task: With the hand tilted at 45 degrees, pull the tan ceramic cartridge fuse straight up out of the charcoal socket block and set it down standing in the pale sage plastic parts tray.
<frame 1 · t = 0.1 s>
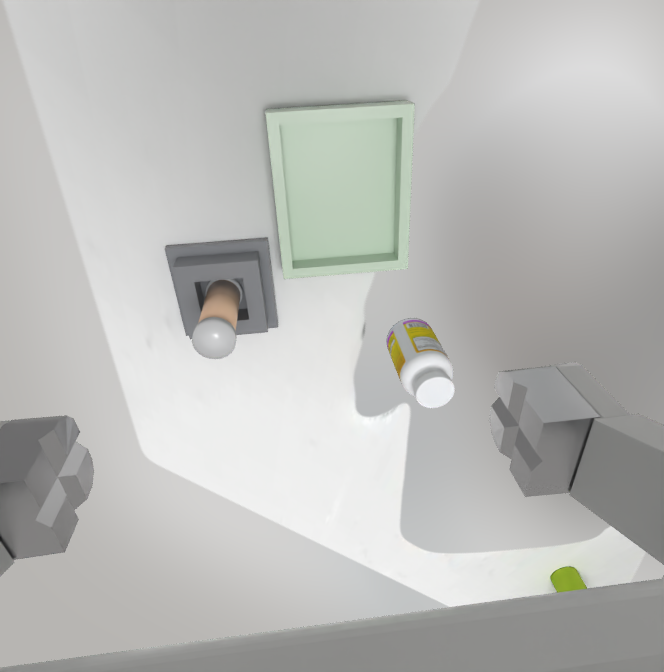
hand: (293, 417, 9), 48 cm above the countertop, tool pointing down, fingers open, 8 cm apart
fuse: (224, 290, 59), point 1 cm above the countertop, touching socket block
supplement bottle: (408, 335, 66), on the countertop
soap dispenser: (561, 575, 103), on the countertop
parts tray: (340, 190, 55), on the countertop
socket block: (225, 286, 59), on the countertop
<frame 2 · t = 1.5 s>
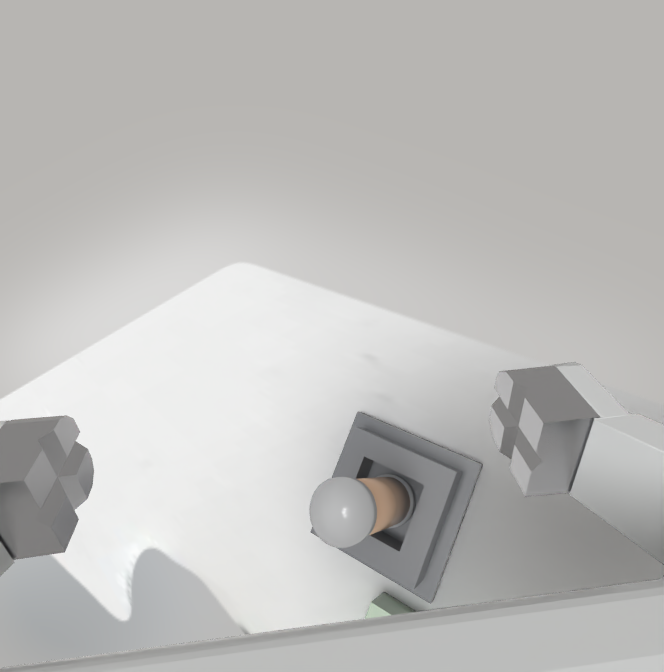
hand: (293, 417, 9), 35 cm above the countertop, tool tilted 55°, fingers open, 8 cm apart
fuse: (391, 499, 42), point 1 cm above the countertop, touching socket block
socket block: (394, 499, 43), on the countertop
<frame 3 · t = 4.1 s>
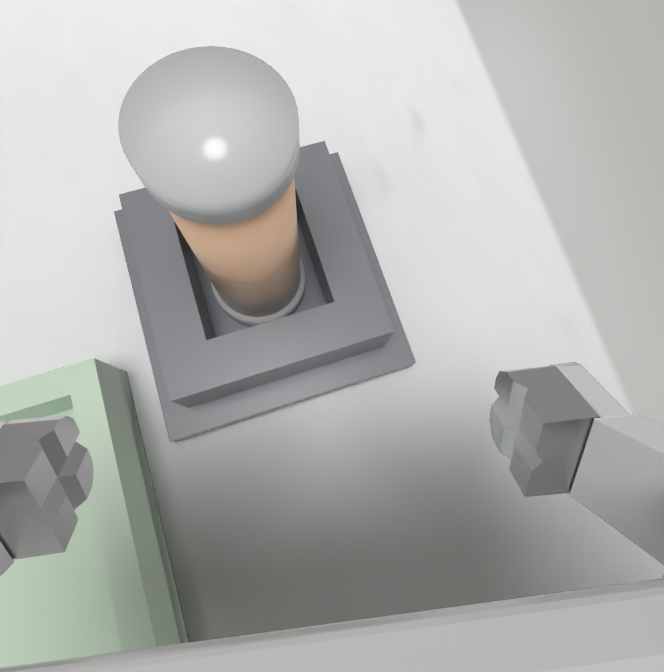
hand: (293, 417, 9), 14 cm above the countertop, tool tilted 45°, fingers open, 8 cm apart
fuse: (260, 284, 23), point 1 cm above the countertop, touching socket block
socket block: (262, 291, 24), on the countertop
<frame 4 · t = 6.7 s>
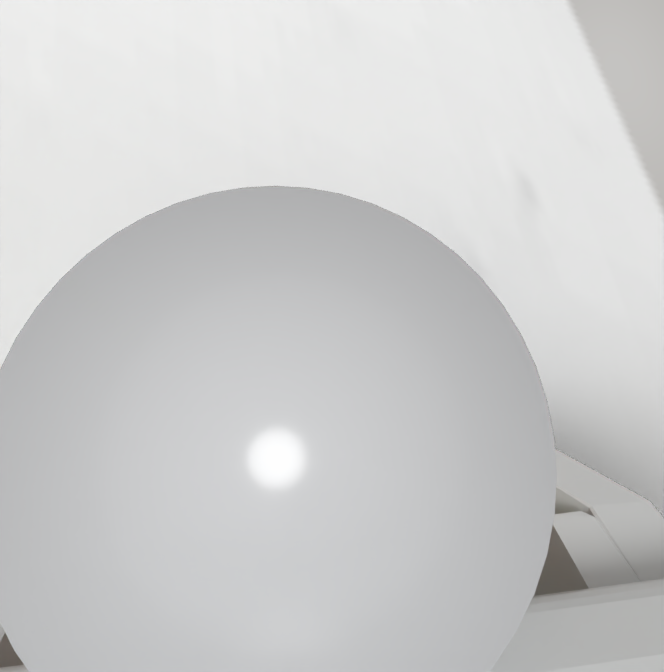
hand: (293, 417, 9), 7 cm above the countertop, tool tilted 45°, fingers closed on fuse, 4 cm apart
fuse: (303, 449, 15), point 1 cm above the countertop, touching gripper, socket block
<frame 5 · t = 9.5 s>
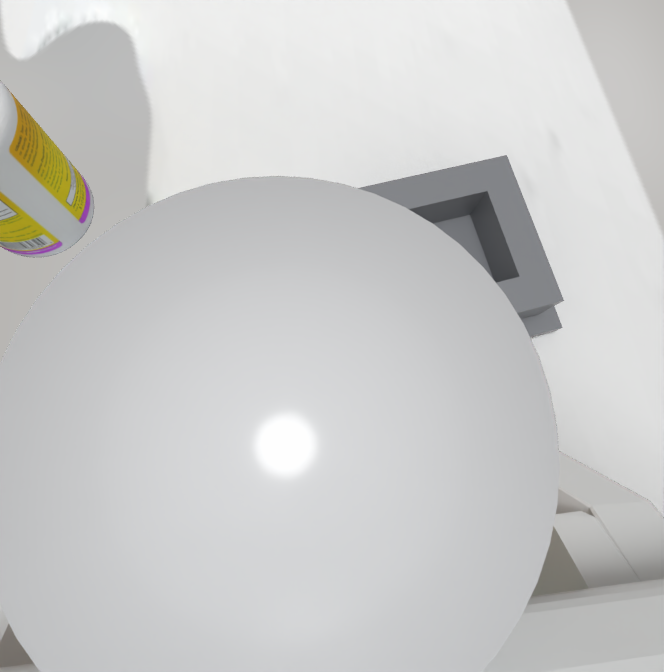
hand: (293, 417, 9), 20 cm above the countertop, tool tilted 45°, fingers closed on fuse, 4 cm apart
fuse: (303, 446, 15), point 13 cm above the countertop, touching gripper
supplement bottle: (46, 215, 31), on the countertop
socket block: (439, 268, 31), on the countertop
when the fingers open (9 cm above the countertop, at t = 12.3 s): fuse drops 2 cm, resting on parts tray.
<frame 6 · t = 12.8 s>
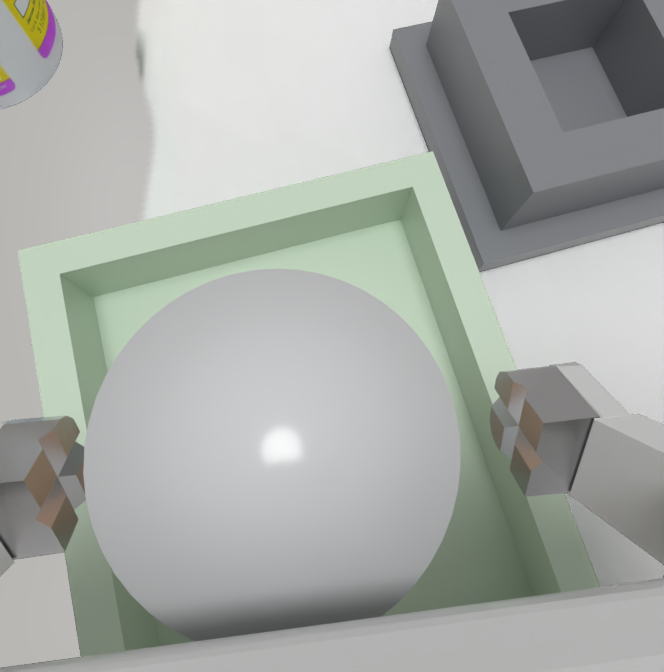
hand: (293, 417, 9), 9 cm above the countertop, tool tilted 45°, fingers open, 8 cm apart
fuse: (299, 448, 17), point 1 cm above the countertop, touching parts tray
parts tray: (304, 448, 18), on the countertop
socket block: (550, 124, 22), on the countertop
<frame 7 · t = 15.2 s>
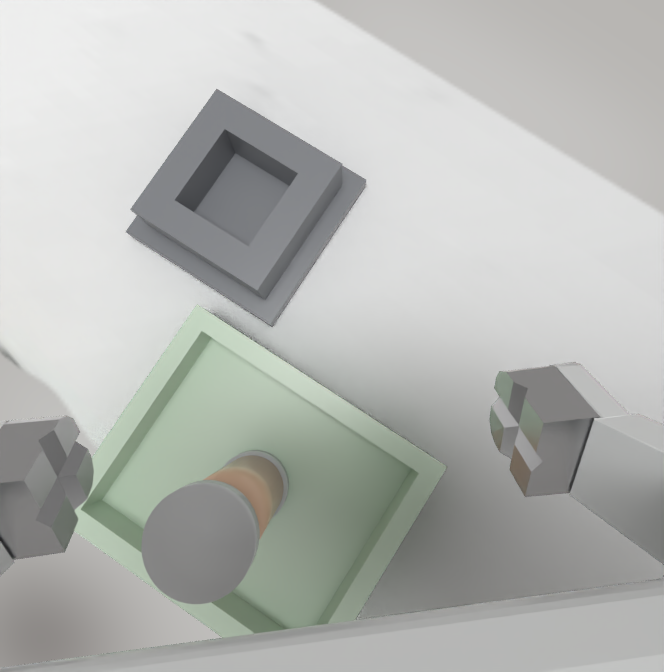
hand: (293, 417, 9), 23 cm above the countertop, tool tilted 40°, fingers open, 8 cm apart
fuse: (254, 484, 30), point 1 cm above the countertop, touching parts tray
parts tray: (259, 480, 31), on the countertop
socket block: (248, 211, 33), on the countertop
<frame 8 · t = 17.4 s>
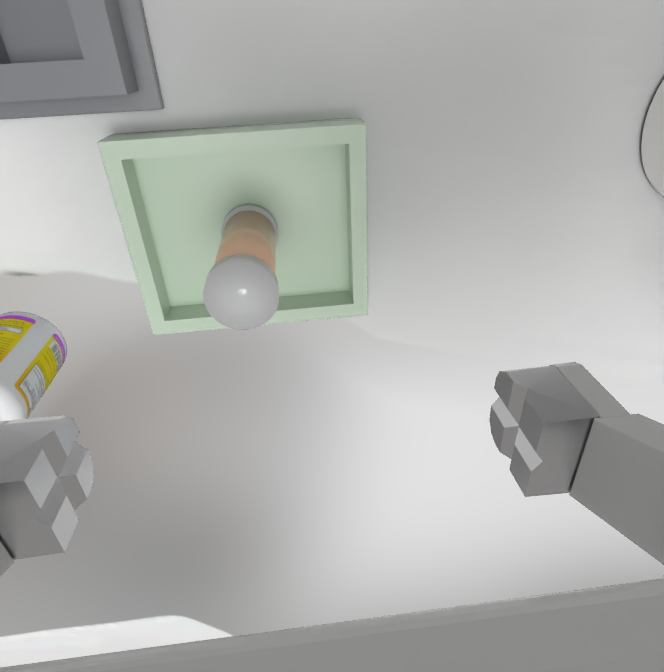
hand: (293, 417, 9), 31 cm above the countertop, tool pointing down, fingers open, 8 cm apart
fuse: (250, 230, 38), point 1 cm above the countertop, touching parts tray
supplement bottle: (30, 340, 42), on the countertop
parts tray: (251, 224, 39), on the countertop
socket block: (46, 10, 30), on the countertop
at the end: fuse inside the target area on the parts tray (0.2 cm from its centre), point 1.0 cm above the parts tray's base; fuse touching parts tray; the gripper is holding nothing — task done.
